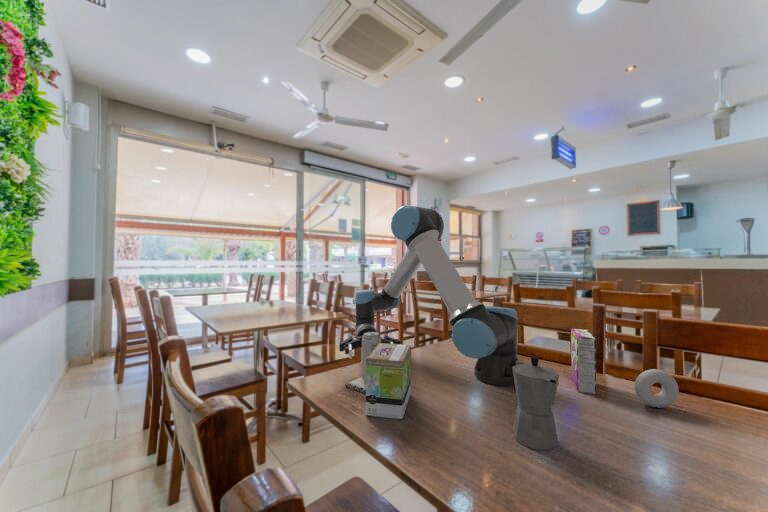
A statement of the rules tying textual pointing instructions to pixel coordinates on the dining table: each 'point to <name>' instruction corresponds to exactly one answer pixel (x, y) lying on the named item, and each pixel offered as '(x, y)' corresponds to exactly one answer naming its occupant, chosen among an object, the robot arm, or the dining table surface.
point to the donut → (666, 393)
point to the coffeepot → (534, 404)
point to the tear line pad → (358, 384)
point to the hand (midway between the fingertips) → (372, 353)
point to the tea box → (388, 380)
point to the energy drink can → (368, 348)
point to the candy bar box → (583, 360)
